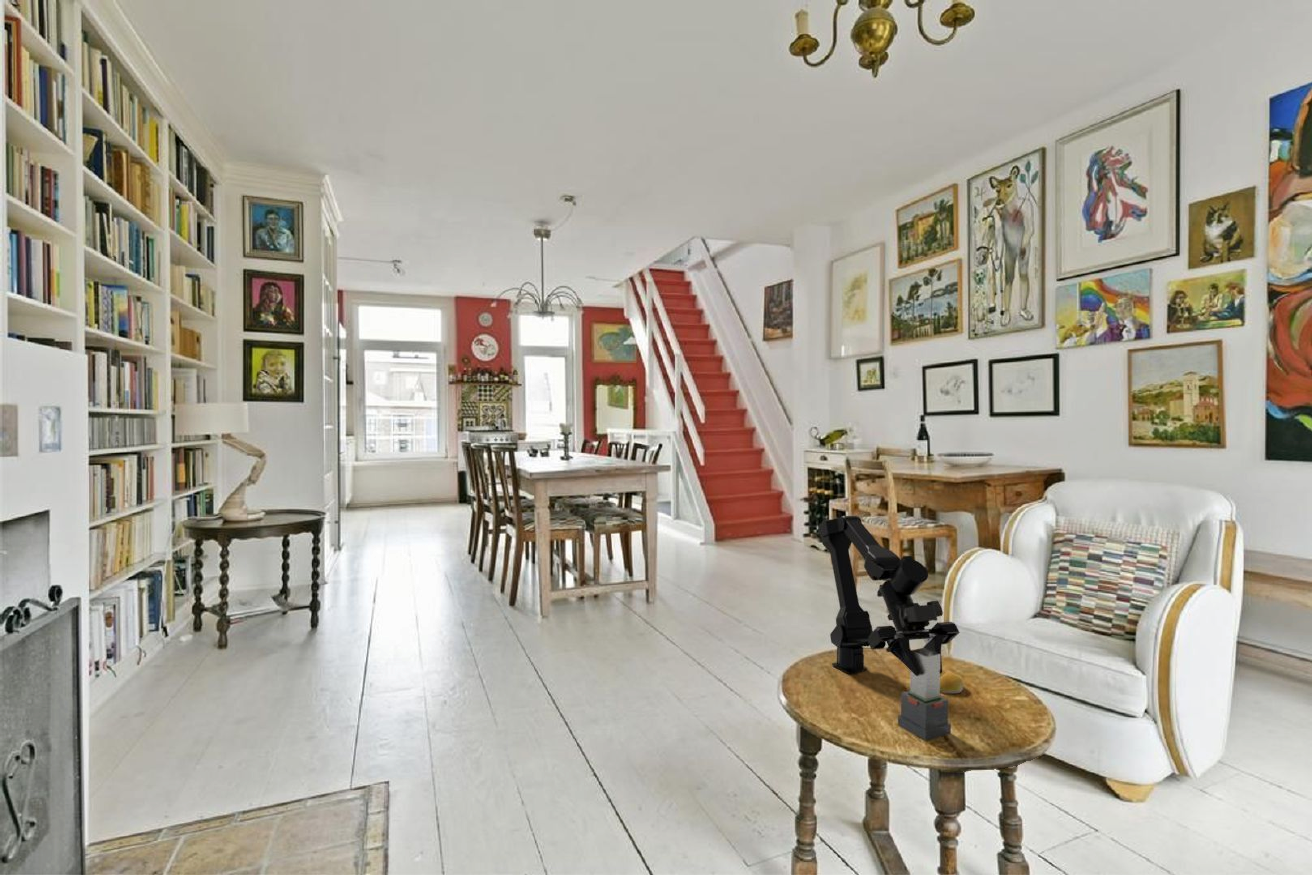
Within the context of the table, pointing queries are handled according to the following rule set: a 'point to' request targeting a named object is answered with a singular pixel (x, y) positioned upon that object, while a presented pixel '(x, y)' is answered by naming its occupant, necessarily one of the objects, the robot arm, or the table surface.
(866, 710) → the table surface
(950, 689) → the bread roll
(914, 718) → the dark grey box
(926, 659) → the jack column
